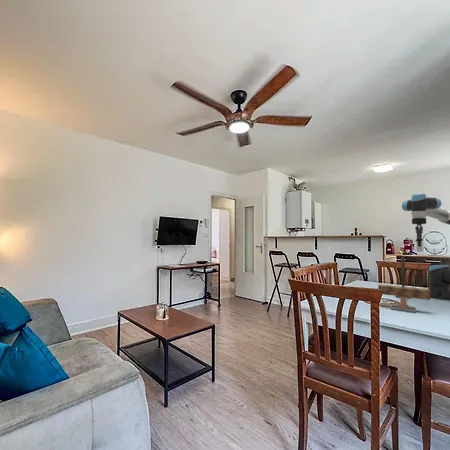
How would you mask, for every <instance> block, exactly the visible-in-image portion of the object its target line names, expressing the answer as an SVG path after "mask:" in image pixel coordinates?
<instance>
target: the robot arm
mask: <svg viewBox="0 0 450 450" xmlns="http://www.w3.org/2000/svg"><path fill="white" fill-rule="evenodd" d="M440 207H442V201H441V199H439V198H438V197H427V195H426V194H425V193H415V194H412V195H411V199H407V200H404V201H402V202H401V208H402V210H403V211H404V212H410V215H411V224H412V225H416V226H415V233H416V239H415V242H416V253H417V252H419V253H423V241H424V239H423V231H424V226H422V225H427V217H429V218H432V219H435V220H438V221H439V222H440V223H442V224H445V225H450V210H449V209H442V208H440ZM427 289H428V290H430V299H431V298H432V299H437V300H450V265H449V264H437V265H430V266H429V267H428V287H427Z"/></svg>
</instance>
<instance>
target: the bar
mask: <svg viewBox="0 0 450 450" xmlns="http://www.w3.org/2000/svg"><path fill="white" fill-rule="evenodd" d="M377 287H378V288H377V290H378V289H382V290H383V294H382V295H386V296H395V297H396V296H401V297H410V299H418V300H426V301H427V300H428V301H430V300H431V297H430V290H428V288H427V289H426V288H425V289H424V288H417V287H408V286H407V287H406V286H405V287H402V286H399V285H389V284H378V286H377Z"/></svg>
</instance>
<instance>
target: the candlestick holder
mask: <svg viewBox="0 0 450 450" xmlns="http://www.w3.org/2000/svg"><path fill="white" fill-rule="evenodd" d="M405 258H406V257H405V256H404V255H402V256H401V257H400V271H399V272H400V273H399V274H400V276H401V279H400V280H401V287H406V286H405V280H406V279H405V276H406V275H407V274H406V273H407V271H406V264H405V263H406V262H405V260H406V259H405ZM395 297H396V298H398V299H400V296H395ZM409 299H411V298H410V297H406V300H409Z"/></svg>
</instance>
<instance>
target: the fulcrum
mask: <svg viewBox="0 0 450 450" xmlns="http://www.w3.org/2000/svg"><path fill="white" fill-rule="evenodd" d="M399 302H400V303H398V304H397V303H392V304H391V308H390V309H391V311H397V312H403V313H410V314H416V306H412V305H409V304H407V299H406V297H401V296H400V298H399Z"/></svg>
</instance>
